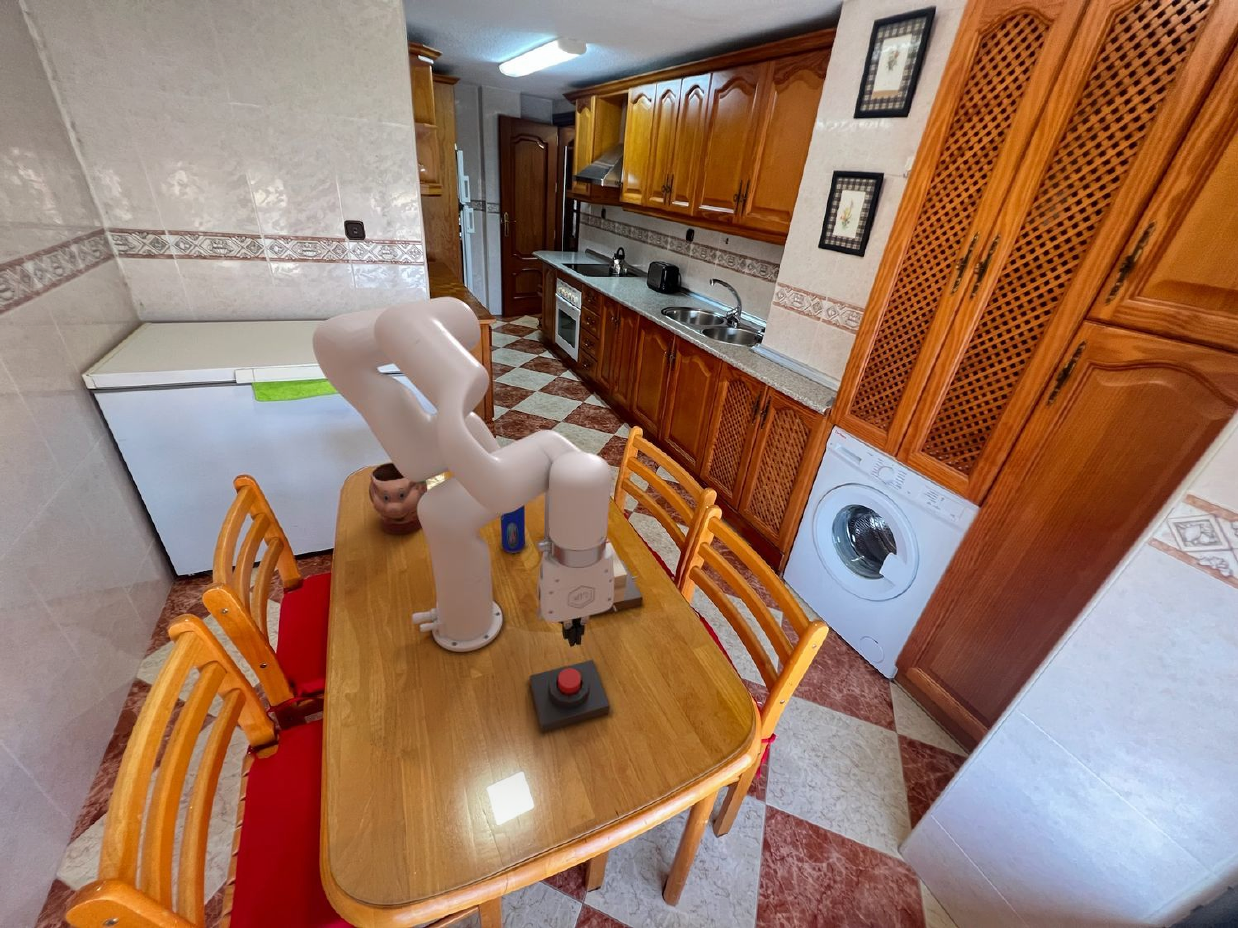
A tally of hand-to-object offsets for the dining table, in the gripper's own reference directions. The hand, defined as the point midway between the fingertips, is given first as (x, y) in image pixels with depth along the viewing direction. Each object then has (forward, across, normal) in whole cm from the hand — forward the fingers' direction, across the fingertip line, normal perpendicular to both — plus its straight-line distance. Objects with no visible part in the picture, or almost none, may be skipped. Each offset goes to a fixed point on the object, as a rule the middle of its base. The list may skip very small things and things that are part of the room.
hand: (572, 638), depth 74 cm
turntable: (+15, +13, +21) cm, 29 cm away
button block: (+15, 0, 0) cm, 15 cm away
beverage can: (+15, -2, +40) cm, 43 cm away
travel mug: (+15, +8, +38) cm, 42 cm away
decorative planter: (+15, -25, +57) cm, 64 cm away
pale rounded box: (+12, +13, +21) cm, 28 cm away
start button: (+11, 0, 0) cm, 11 cm away
